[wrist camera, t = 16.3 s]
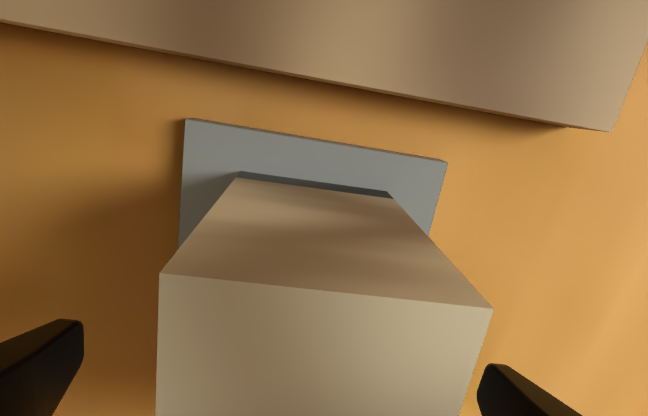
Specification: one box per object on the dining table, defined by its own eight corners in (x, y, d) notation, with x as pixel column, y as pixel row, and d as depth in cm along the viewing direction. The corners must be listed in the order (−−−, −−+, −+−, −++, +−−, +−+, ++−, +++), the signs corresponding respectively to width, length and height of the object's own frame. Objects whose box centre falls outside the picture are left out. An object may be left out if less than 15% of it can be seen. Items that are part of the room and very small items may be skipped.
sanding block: (386, 191, 10) (493, 309, 4) (343, 393, 12) (381, 649, 6) (241, 171, 10) (158, 273, 4) (221, 384, 12) (148, 648, 6)
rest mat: (440, 159, 10) (448, 162, 10) (374, 405, 13) (378, 420, 12) (192, 117, 10) (185, 119, 9) (174, 388, 12) (168, 402, 12)
